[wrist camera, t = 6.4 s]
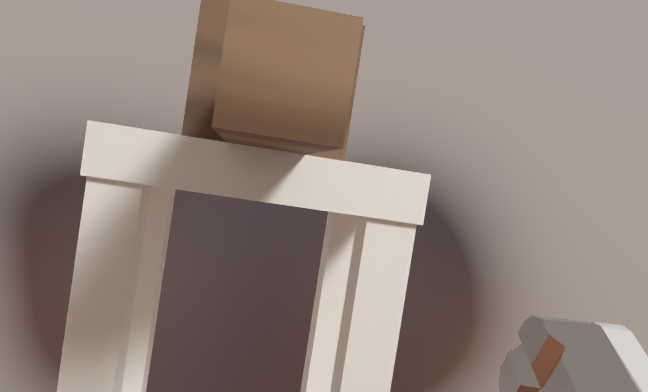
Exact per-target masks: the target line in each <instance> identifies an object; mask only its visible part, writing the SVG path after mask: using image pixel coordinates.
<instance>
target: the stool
mask: <svg viewBox="0 0 648 392" xmlns="http://www.w3.org/2000/svg"><path fill="white" fill-rule="evenodd" d="M80 175H85V176H87V181H86V188H85V195H84V202H83V209H82V216H81V223H80V230H79V237H78V245H77V252H76V259H75V266H74V273H73V280H72V287H71V295H70V302H69V309H68V315H67V322H66V330H65V337H64V344H63V351H62V358H61V365H60V372H59V379H58V386H57V392H146V386H147V380H148V373H149V366H150V359H151V353H152V346H153V339H154V332H155V325H156V318H157V312H158V305H159V298H160V290H161V284H162V277H163V270H164V264H165V257H166V250H167V243H168V236H169V229H170V222H171V216H172V209H173V201H174V195H175V189H180V190H186V191H193V192H200V193H208V194H214V195H221V196H227V197H234V198H241V199H248V200H255V201H262V202H269V203H276V204H283V205H289V206H296V207H302V208H309V209H316V210H323V211H328V217H327V224H326V230H325V237H324V243H323V250H322V256H321V262H320V269H319V275H318V282H317V289H316V295H315V301H314V308H313V314H312V321H311V327H310V333H309V341H308V346H307V353H306V359H305V366H304V372H303V379H302V385H301V392H390V387H391V381H392V375H393V368H394V362H395V356H396V350H397V344H398V337H399V331H400V325H401V318H402V312H403V306H404V300H405V294H406V287H407V281H408V274H409V268H410V262H411V256H412V250H413V243H414V237H415V231H416V225H417V224H419V225H423V222H424V216H425V209H426V203H427V197H428V190H429V184H430V178H431V175H428V174H423V173H417V172H410V171H404V170H398V169H391V168H385V167H379V166H372V165H366V164H359V163H353V162H346V161H341V160H335V159H328V158H322V157H316V156H310V155H303V154H297V153H291V152H284V151H278V150H272V149H266V148H259V147H253V146H247V145H240V144H234V143H228V142H222V141H215V140H209V139H203V138H196V137H190V136H184V135H177V134H171V133H165V132H159V131H152V130H146V129H139V128H133V127H127V126H121V125H115V124H108V123H102V122H96V121H88V122H87V129H86V136H85V143H84V150H83V157H82V165H81V171H80Z"/></svg>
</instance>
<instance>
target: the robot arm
mask: <svg viewBox="0 0 648 392" xmlns="http://www.w3.org/2000/svg"><path fill="white" fill-rule="evenodd" d="M518 334H519V337H520V339H521V342H522V344H521V345H519V346H518V347H516V348H514V349H513V350H511V351H510V352H508V353H507V355H506V358H505V360H504V362H503V364H502V366H501V370H500V379H499V389H500V392H648V356H647V355H646V353H645V352H644V350H643V349H642V347H641V346H640V344H639V343H638V341H637V340H636V338H635V337H634V335H633V334H632V332H631V331H630V330H628V329H627V328H625V327H624V326H623V325H616V324H606V323H597V322H591V323H589V322H583V321H575V320H567V319H558V318H550V317H541V316H533V315H532V316H530V317H529V318H528V319H527V320H526V321H524V323H523V325H522V327H521V329H520V330H519V332H518Z"/></svg>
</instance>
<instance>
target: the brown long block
mask: <svg viewBox="0 0 648 392" xmlns="http://www.w3.org/2000/svg"><path fill="white" fill-rule="evenodd" d="M362 23H363V17H357V16H352V15H347V14H342V13H337V12H331V11H326V10H321V9H316V8H311V7H306V6H300V5H295V4H290V3H285V2H279V1H275V0H201V5H200V12H199V20H198V26H197V33H196V39H195V46H194V54H193V60H192V67H191V74H190V80H189V87H188V94H187V101H186V108H185V115H184V122H183V128H182V135H184V136H190V137H196V138H203V139H209V140H215V141H222V142H228V143H234V144H240V145H247V146H253V147H259V148H266V149H272V150H278V151H284V152H291V153H297V154H303V155H310V156H316V157H322V158H328V159H335V160H341V161H344V158H345V152H346V145H347V139H348V133H349V125H350V119H351V113H352V106H353V100H354V94H355V88H356V81H357V75H358V68H359V62H360V55H361V49H362V42H363V36H364V29H365V26H363V25H362Z"/></svg>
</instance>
